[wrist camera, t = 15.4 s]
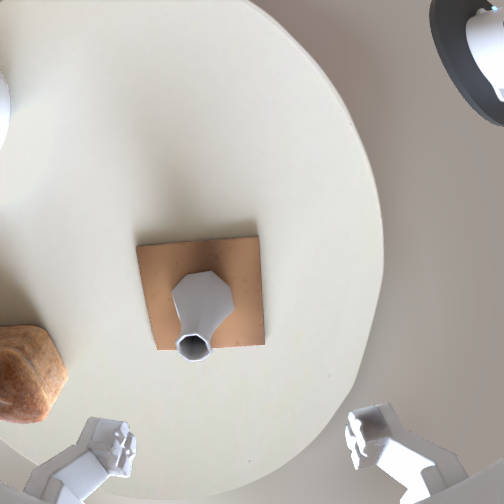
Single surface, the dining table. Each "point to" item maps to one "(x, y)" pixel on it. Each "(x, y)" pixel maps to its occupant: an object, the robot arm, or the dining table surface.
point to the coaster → (195, 261)
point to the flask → (200, 312)
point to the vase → (4, 108)
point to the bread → (28, 374)
